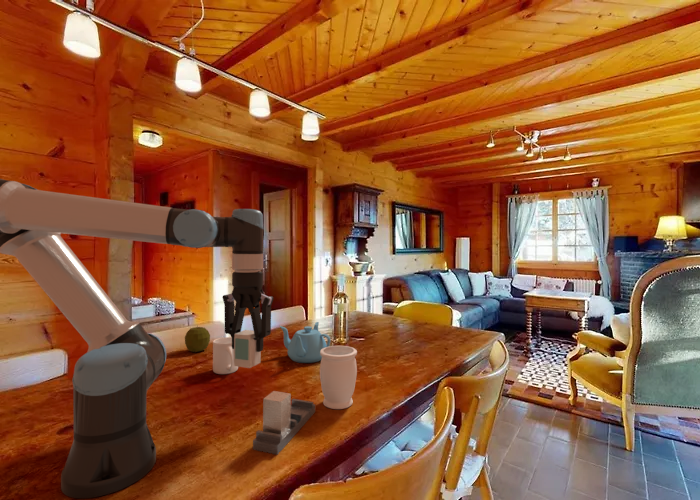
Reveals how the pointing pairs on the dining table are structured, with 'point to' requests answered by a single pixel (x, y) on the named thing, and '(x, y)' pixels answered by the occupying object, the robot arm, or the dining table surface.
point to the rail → (295, 425)
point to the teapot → (306, 344)
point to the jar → (338, 375)
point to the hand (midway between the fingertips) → (247, 362)
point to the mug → (223, 356)
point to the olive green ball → (197, 339)
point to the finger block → (243, 348)
